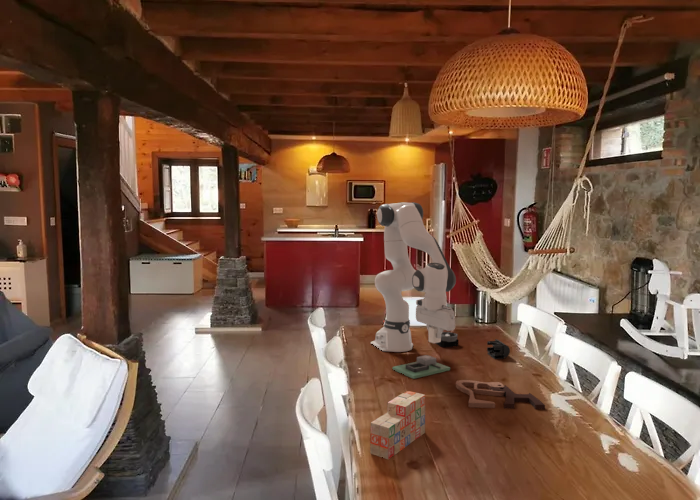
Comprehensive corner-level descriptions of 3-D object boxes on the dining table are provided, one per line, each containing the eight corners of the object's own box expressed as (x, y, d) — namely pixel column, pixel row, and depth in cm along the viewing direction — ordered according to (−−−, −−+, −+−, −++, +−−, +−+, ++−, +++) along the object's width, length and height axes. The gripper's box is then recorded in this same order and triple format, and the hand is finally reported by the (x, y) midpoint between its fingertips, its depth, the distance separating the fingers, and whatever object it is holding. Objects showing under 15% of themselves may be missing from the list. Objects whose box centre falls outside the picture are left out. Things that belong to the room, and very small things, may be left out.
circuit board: (392, 369, 220) (392, 360, 219) (428, 361, 230) (428, 353, 230) (413, 378, 208) (413, 369, 207) (450, 370, 218) (450, 361, 218)
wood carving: (545, 410, 176) (528, 386, 200) (545, 405, 176) (528, 381, 199) (461, 408, 179) (454, 384, 202) (462, 402, 179) (455, 379, 202)
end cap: (510, 359, 234) (510, 344, 234) (495, 359, 233) (495, 345, 233) (501, 352, 244) (501, 338, 243) (486, 353, 243) (486, 339, 243)
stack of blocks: (388, 460, 142) (388, 417, 141) (369, 454, 145) (369, 412, 144) (425, 432, 159) (425, 394, 158) (407, 427, 163) (407, 389, 162)
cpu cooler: (460, 335, 254) (441, 337, 252) (460, 347, 255) (441, 348, 252) (451, 330, 264) (433, 332, 262) (451, 341, 265) (433, 343, 262)
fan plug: (428, 341, 210) (428, 327, 210) (436, 340, 213) (437, 325, 212) (433, 343, 208) (433, 328, 207) (441, 341, 210) (442, 327, 210)
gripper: (459, 307, 201) (458, 341, 203) (424, 298, 219) (424, 330, 220) (447, 308, 198) (446, 343, 199) (413, 299, 215) (412, 332, 216)
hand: (434, 336), depth 210 cm, fingers closed on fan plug, 3 cm apart
